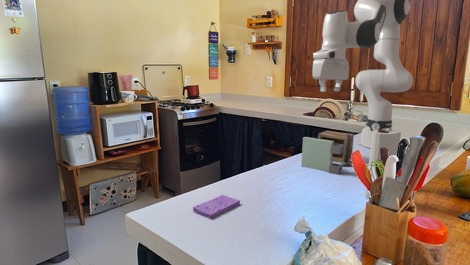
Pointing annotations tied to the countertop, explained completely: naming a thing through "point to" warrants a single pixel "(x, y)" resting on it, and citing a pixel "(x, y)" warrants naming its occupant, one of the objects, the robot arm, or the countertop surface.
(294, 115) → the countertop surface
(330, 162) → the cabinet door
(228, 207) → the sponges
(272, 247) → the countertop surface
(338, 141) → the walnut cabinet
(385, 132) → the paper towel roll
